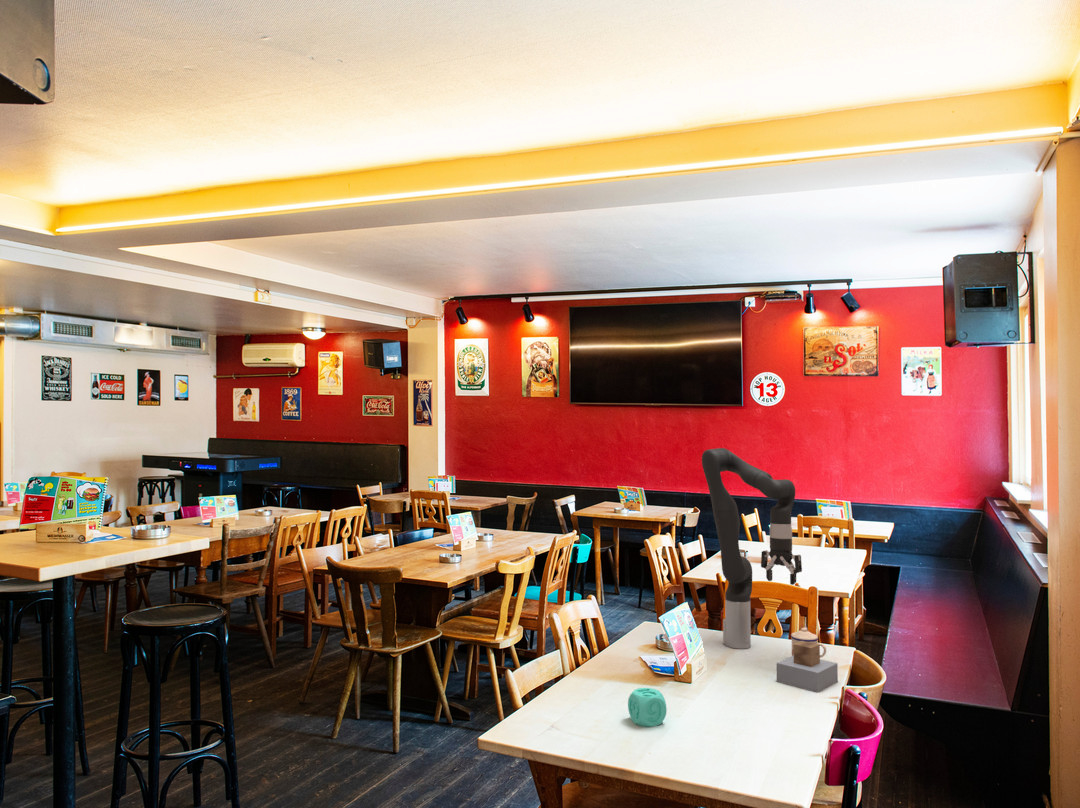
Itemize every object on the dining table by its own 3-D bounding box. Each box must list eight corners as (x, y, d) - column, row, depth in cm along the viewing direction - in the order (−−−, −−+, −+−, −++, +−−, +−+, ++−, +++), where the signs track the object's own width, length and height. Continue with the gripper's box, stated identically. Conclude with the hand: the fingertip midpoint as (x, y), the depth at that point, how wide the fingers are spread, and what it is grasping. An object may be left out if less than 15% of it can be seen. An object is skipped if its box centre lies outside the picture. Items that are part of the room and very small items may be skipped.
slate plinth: (776, 681, 240) (776, 662, 240) (796, 671, 250) (796, 653, 250) (818, 692, 230) (818, 672, 230) (837, 681, 240) (837, 663, 240)
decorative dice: (652, 714, 211) (652, 686, 212) (666, 724, 204) (666, 695, 204) (627, 718, 209) (627, 689, 209) (641, 728, 201) (641, 699, 201)
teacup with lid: (787, 662, 260) (787, 628, 261) (796, 656, 267) (795, 623, 268) (822, 668, 253) (821, 634, 253) (830, 662, 260) (829, 629, 260)
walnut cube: (793, 662, 240) (793, 644, 240) (802, 659, 244) (802, 640, 244) (811, 667, 236) (811, 648, 236) (819, 663, 240) (819, 644, 240)
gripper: (757, 535, 263) (757, 581, 262) (794, 539, 253) (795, 587, 252) (767, 533, 268) (767, 578, 268) (805, 537, 258) (805, 584, 257)
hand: (781, 582), depth 260 cm, fingers open, 8 cm apart
